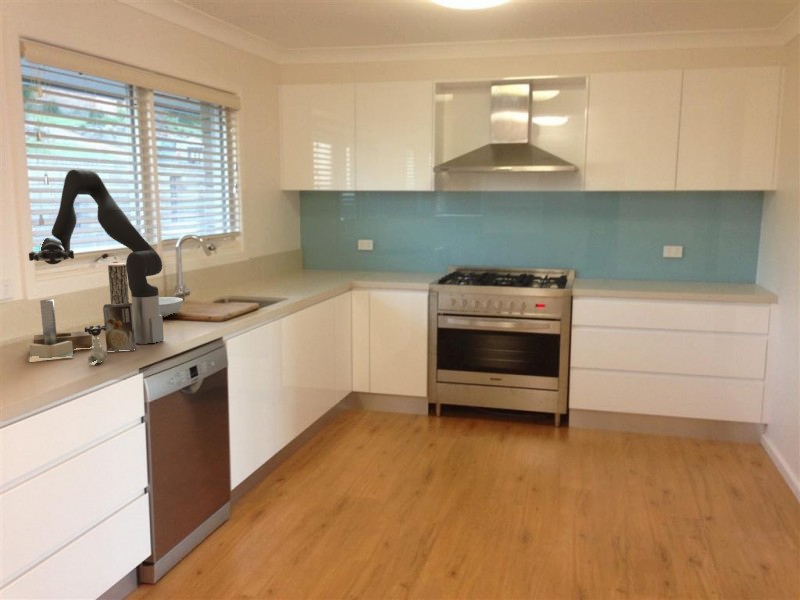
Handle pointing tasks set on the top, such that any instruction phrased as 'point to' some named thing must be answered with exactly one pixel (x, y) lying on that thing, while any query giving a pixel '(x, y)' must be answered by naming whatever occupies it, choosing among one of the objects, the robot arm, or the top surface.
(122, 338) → the coffee box
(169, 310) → the serving bowl
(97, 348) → the valve
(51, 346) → the v block
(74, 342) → the wooden block with hole
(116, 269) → the wooden log
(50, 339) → the axle
